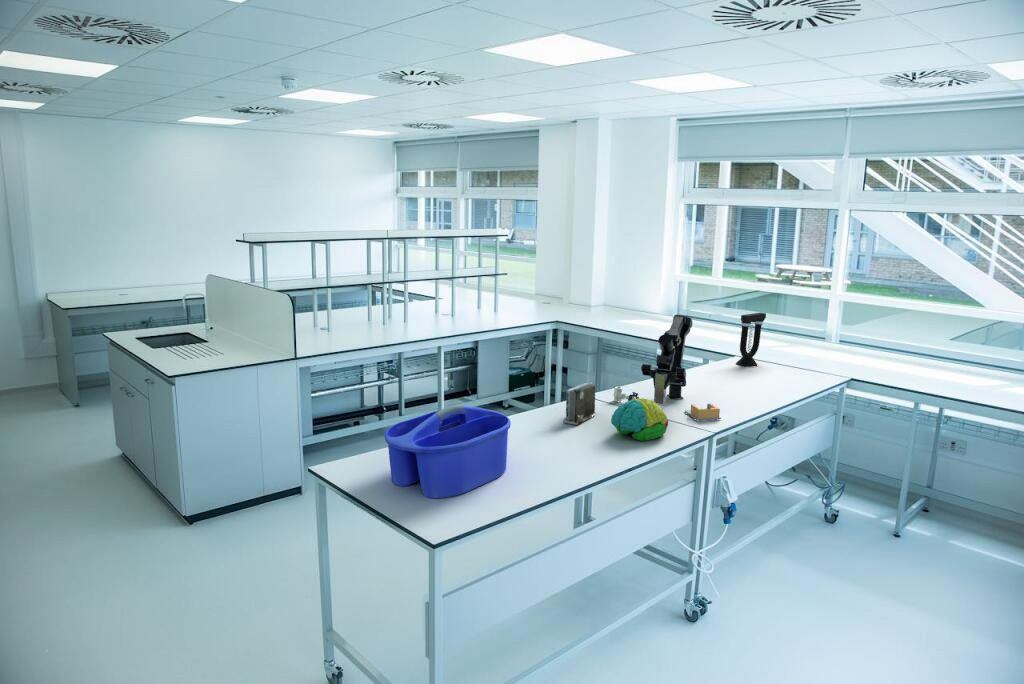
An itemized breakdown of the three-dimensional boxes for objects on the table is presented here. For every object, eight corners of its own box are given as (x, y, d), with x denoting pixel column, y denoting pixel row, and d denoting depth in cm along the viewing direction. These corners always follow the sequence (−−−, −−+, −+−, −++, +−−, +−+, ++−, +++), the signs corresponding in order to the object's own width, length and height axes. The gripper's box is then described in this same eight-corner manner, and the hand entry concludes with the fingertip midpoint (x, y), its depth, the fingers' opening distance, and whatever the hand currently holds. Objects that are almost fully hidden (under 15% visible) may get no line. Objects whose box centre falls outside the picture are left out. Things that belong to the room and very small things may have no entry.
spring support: (748, 368, 368) (752, 316, 362) (728, 364, 377) (732, 314, 372) (767, 363, 381) (771, 313, 375) (748, 360, 390) (751, 311, 385)
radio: (586, 409, 287) (587, 377, 284) (604, 413, 282) (605, 380, 279) (558, 422, 269) (559, 388, 266) (576, 426, 264) (577, 391, 261)
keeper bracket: (684, 412, 284) (685, 397, 283) (707, 411, 286) (709, 396, 284) (696, 421, 272) (697, 405, 271) (720, 419, 274) (722, 404, 273)
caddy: (365, 483, 207) (362, 412, 202) (461, 446, 241) (461, 385, 236) (435, 511, 187) (433, 434, 183) (528, 466, 221) (529, 400, 217)
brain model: (634, 447, 239) (637, 408, 237) (599, 433, 254) (602, 396, 252) (677, 438, 253) (680, 401, 250) (641, 425, 268) (644, 390, 266)
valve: (609, 401, 300) (629, 407, 291) (610, 387, 299) (629, 393, 290) (619, 399, 304) (638, 405, 295) (619, 385, 303) (639, 391, 294)
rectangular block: (656, 400, 281) (657, 371, 279) (665, 402, 279) (666, 372, 277) (653, 403, 278) (655, 373, 275) (663, 404, 276) (664, 374, 273)
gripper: (643, 345, 281) (635, 376, 274) (686, 349, 273) (679, 381, 266) (646, 359, 290) (639, 389, 282) (689, 364, 282) (682, 394, 274)
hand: (659, 388), depth 276 cm, fingers closed on rectangular block, 4 cm apart
